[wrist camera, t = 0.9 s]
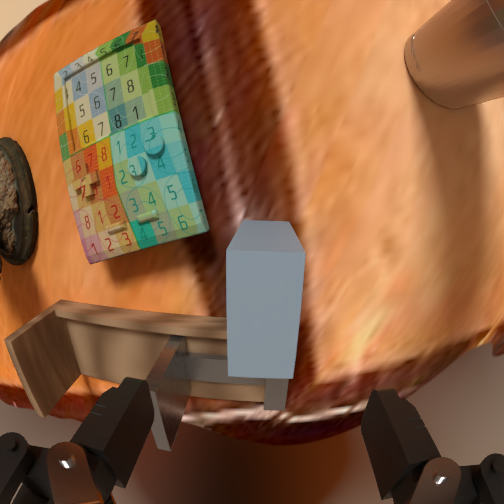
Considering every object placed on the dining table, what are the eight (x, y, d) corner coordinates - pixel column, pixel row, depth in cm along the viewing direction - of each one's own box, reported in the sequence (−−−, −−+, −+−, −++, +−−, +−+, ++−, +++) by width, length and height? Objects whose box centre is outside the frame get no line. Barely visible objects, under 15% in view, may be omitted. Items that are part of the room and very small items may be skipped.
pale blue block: (289, 221, 25) (305, 252, 15) (284, 305, 27) (292, 378, 16) (243, 220, 25) (226, 250, 15) (242, 304, 27) (227, 376, 17)
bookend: (288, 338, 26) (295, 403, 18) (282, 396, 28) (285, 461, 19) (173, 331, 27) (139, 389, 18) (180, 389, 29) (157, 448, 20)
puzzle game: (84, 267, 23) (48, 72, 18) (109, 254, 27) (73, 82, 23) (204, 234, 21) (152, 15, 17) (215, 224, 26) (168, 36, 21)
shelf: (293, 320, 27) (305, 392, 17) (285, 395, 30) (289, 468, 20) (60, 299, 29) (4, 339, 18) (78, 367, 31) (37, 414, 21)
